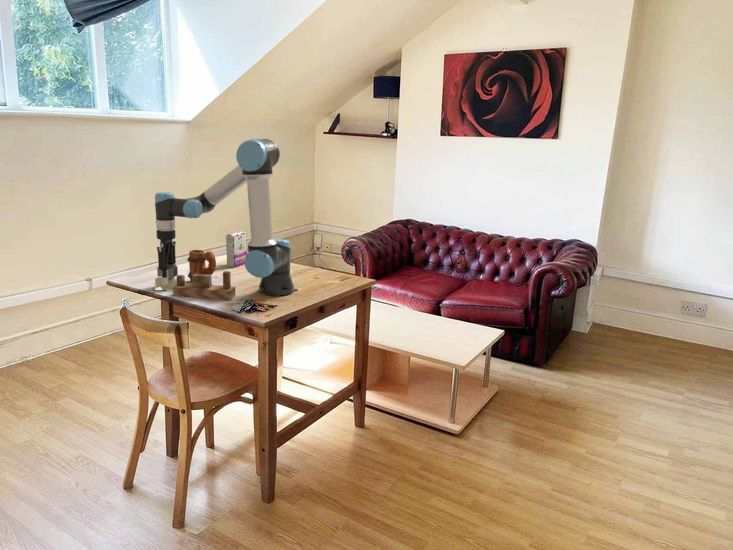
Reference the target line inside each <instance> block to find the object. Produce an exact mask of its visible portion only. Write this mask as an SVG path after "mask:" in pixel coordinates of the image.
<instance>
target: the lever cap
mask: <svg viewBox="0 0 733 550" xmlns="http://www.w3.org/2000/svg"><path fill="white" fill-rule="evenodd" d="M178 269H179V268H178V265H176V266H175V265H168V267H167V270H169V277H173V278H176V277H177V275H179V272H178ZM156 272H157V274H156V275H157V277H162V270H159V266H157V267H156Z"/></svg>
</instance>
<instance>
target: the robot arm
mask: <svg viewBox="0 0 733 550" xmlns="http://www.w3.org/2000/svg"><path fill="white" fill-rule="evenodd" d="M280 151H281V150H280V148H279V146H278V145H277V144H276V143H275V141H273V140H271V139H267V138H261V139H260V138H259V139H258V138H256V139H255V138H252V139H247V140H245V141H243V142H242V143H241V144H240V145H239V146H238V148H237V150H236V153H235V156H236V157H235V158H236V162H237V164H238V165H237V166H235V167H234V168H233V169H232V170H231V171H229V172H228V173H227V174H225V175H224V176H223V177H222V178H220V179H218V180H217V181H216V182H215V183H213V184H212V185H211V186H210V187H208V188H207V189H206V190H204V191H203V192H202V193H201V194H200V195H198V196H195V197H194V196H193V197H190V198H189V197H188V198H176V197H175V194H174V193H173V192H170V191H159V192H156V193H155V195H154V206H155V222H154V223H155V226H156V227H155V228H156V230H155V231H156V239H157V240H159V241H160V243H159V246H157V247H156V250H157V259H158V267H159V270H162V284H164V285H169V278H173V277H169V270H167V267H168V265H175V266H177V264H176V263H177V260H176V241H173V240H174V239H176V235H177V234H176V217H178V218H188V219H199V218H200V217H201V216H202V214H207V213H210V212H212V211H213V210H214V209H215V207H216V206H217V205H218V204H220V203H221V202H222V201H224V200H225V199H227V198H228V197H229V196H231V194H233V193H235V192H236V191H237V190H239V189H240V188H241V187H242V186H244V185H247V186H246V187H247V188H246V189H247V199H248V200H247V201H248V215H249V226H250V241H248V243H247V255H246V257H245V260H244V266H245V270H246V271H247V272H248V273H249V274H250V276H253V277H254V278H260V282H259V285H258V292H259V293H260V294H261V295H265V296H271V297H280V295H283V296H288V295H287V294H289V295H292V294H293V293H294V292H295V285H294V282H293V279H292V278H293V277H291V249H292V247H291V242H290V241H289V240H287V239H282V238H274V237H273V221H272V208H271V206H272V204H271V191H270V189H271V188H270V178H271V177H272V175H273V168H274V167H275V166H276V165H277V164H278V162H279V160H280V157H281V156H280V155H281V152H280Z"/></svg>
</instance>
